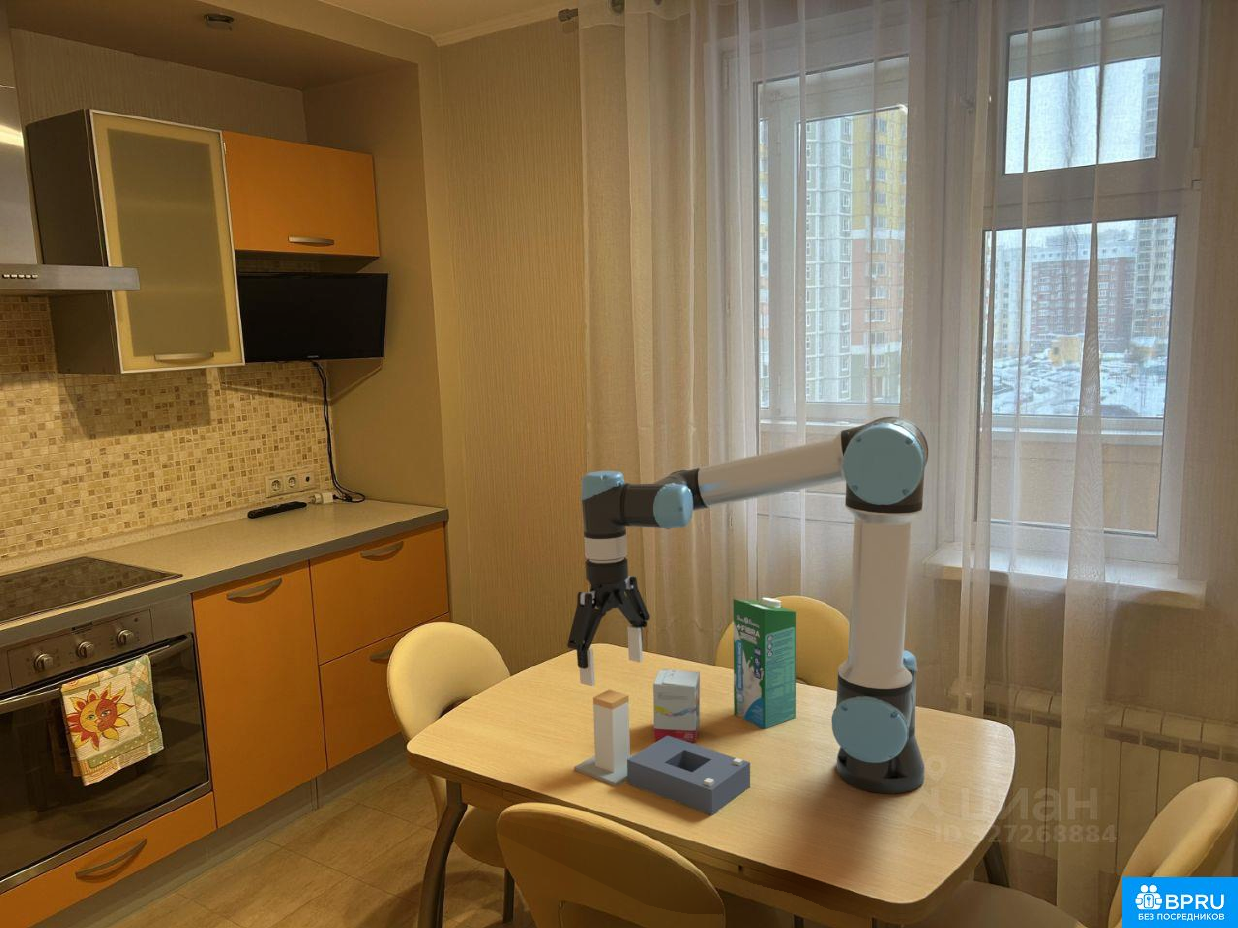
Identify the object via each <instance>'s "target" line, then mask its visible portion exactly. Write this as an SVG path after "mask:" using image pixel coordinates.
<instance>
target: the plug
mask: <svg viewBox="0 0 1238 928" xmlns="http://www.w3.org/2000/svg"><path fill="white" fill-rule="evenodd" d="M629 704H630V703H629V694H626V693H622V692H619V691H615V690H612V689H607V690H604V691H603V692H601V693H599V694H597V695H595V696H593V697H592V708H593V738H594V739H593V740H594V741H593V744H594V755H595V766H598V767H600V768H603V769H606V770H608V771H611V772H614V773H615V772H616V771H618V770H620V769H621V768H623V767H624V766H626V765H627V759H629V758H630V755H631V747H630V745H631V744H630V743H631V741H630V708H629V707H630V706H629Z"/></svg>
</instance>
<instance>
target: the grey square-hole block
mask: <svg viewBox="0 0 1238 928" xmlns="http://www.w3.org/2000/svg"><path fill="white" fill-rule="evenodd" d="M626 782H627V784H629V785H631V786H633V787H636V788H639V789H641V790H645V791H647V792H649V793H652V794H654V795H657V796H660V797H663V798H665V799H668V800H670V801H672V802H676V803H678V804H681V805H682V806H683V805H684V806H687V807H689V808H691V809H694V810H697V811H699V812H701V813H705V814H707V815H709V816H713V815H714V814H716V813H717V812H718V811H720V810H722V809H723V808H724V807H725V806H726V805H728V804H729V803H730V802H732V801H733V800H735V798H737V797H738V796H739V795H740V796H741V794H742V793H744V792H745V791H746V790H748V789H749V788H750V787H751V762H749V761H747V760H744V759H741V758H739V757H734V756H731V755H728V754H725V753H722V752H719V751H716V750H714V749H710V748H707V747H703V746H701V745H697V744H696V743H691V742H686V741H683V740H680V739H677V738H673V737H670V736H666V737H664V738H662V739H661V740H659V741H656V742H655V741H654V743H652V744H650V745H649V746H647V747H645V748H644V749H642V750H640V751H639V752H637V753H636V754H634V755H633V756H632V757H630V758H629V759H627V780H626Z"/></svg>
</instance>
